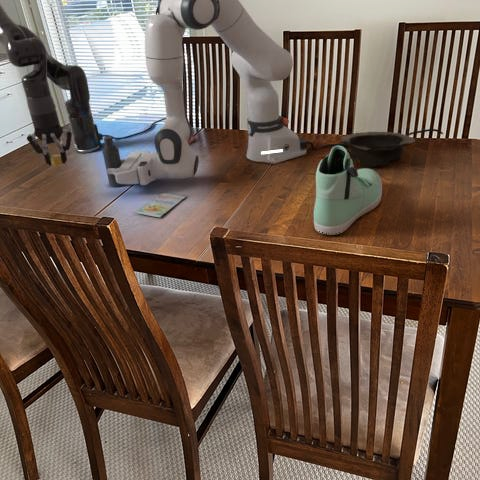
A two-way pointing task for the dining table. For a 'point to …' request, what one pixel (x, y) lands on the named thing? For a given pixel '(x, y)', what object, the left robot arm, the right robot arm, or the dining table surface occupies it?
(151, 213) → the baking ingredient package
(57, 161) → the cap
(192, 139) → the candy cane
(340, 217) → the sneaker
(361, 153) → the stone bowl
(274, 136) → the right robot arm
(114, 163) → the bottle
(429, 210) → the dining table surface
